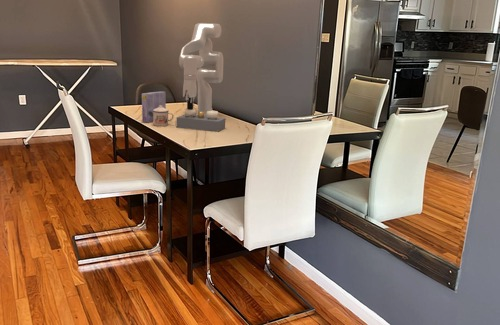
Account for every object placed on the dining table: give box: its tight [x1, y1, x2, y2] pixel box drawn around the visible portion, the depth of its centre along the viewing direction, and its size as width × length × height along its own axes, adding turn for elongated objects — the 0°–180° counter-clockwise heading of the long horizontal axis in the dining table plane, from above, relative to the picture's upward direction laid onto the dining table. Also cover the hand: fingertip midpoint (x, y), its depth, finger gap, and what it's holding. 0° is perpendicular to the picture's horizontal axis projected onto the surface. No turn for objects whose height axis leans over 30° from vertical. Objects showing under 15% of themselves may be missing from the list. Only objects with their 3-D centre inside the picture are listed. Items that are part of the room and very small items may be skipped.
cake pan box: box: [141, 91, 167, 124], centre depth 285 cm, size 19×5×18 cm, turn 152°
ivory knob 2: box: [207, 110, 219, 120], centre depth 268 cm, size 6×6×9 cm
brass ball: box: [197, 111, 204, 118], centre depth 270 cm, size 4×4×4 cm
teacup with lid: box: [153, 105, 174, 127], centre depth 274 cm, size 12×9×12 cm
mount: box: [176, 113, 226, 133], centre depth 271 cm, size 12×26×6 cm, turn 73°
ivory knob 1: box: [184, 108, 197, 118], centre depth 272 cm, size 6×6×9 cm
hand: (190, 109), depth 271 cm, fingers closed
